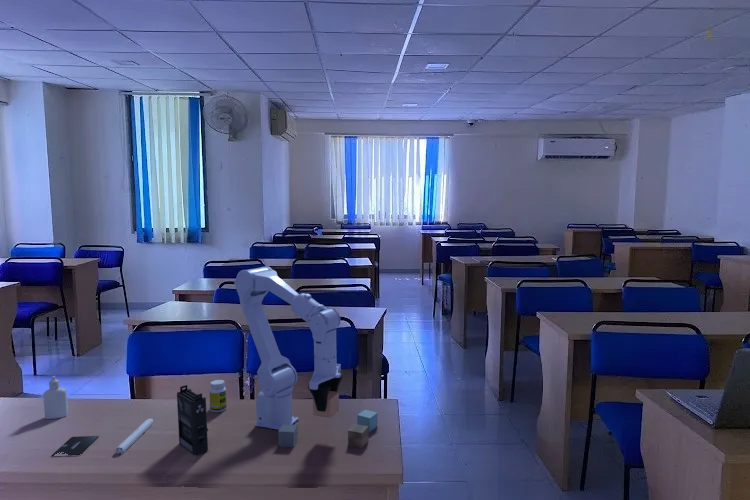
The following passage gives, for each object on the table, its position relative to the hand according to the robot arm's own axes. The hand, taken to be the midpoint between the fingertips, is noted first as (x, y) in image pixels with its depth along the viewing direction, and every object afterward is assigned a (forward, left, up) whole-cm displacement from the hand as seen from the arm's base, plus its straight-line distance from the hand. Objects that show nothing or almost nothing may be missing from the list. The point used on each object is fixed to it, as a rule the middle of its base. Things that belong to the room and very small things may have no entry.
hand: (326, 406), depth 135 cm
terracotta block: (0, 0, -2) cm, 2 cm away
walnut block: (+9, 0, -8) cm, 12 cm away
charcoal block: (-8, -6, -8) cm, 13 cm away
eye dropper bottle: (-79, -15, -9) cm, 81 cm away
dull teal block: (+8, +9, -8) cm, 15 cm away
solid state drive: (-58, -26, -9) cm, 64 cm away
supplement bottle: (-38, +5, -9) cm, 39 cm away
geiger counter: (-29, -16, -9) cm, 34 cm away
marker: (-47, -17, -9) cm, 51 cm away
